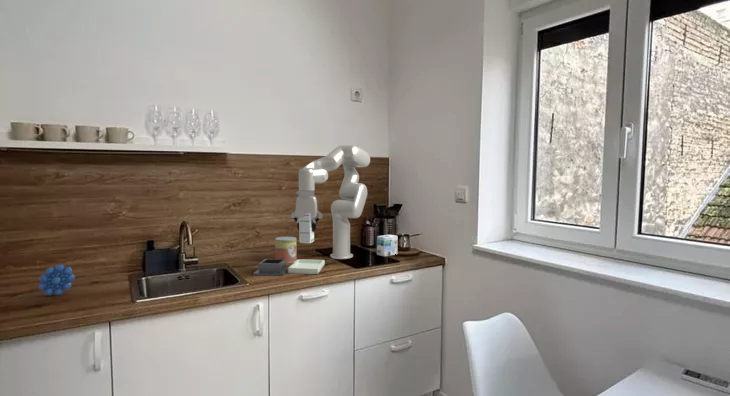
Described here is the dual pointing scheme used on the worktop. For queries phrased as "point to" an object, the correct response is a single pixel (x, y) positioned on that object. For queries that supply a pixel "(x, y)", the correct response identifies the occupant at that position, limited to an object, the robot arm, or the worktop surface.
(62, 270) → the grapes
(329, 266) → the worktop surface
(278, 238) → the canned food
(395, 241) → the light bulb box
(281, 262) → the sleeve holder
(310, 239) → the syrup box
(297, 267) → the tray
